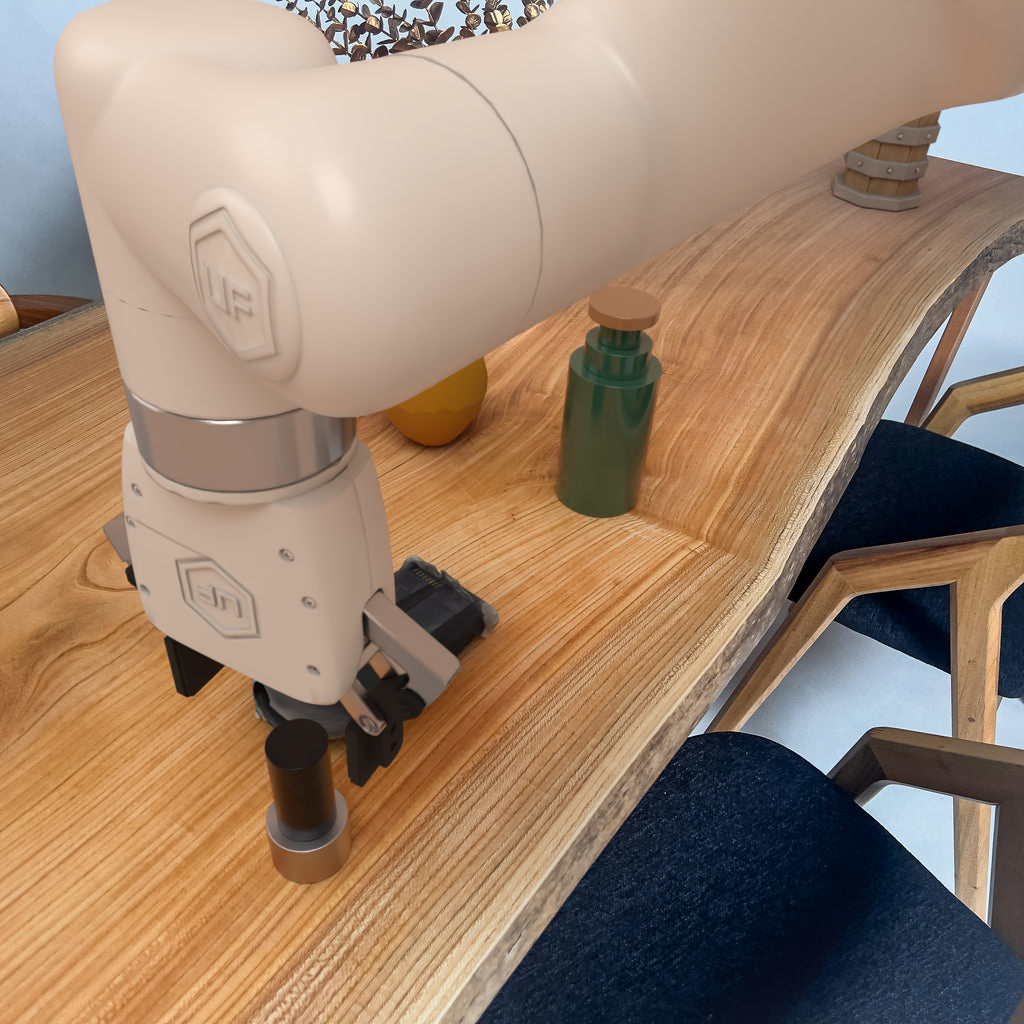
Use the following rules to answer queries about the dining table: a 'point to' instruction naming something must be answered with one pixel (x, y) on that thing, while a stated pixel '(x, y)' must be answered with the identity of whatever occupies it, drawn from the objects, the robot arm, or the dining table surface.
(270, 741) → the torch
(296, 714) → the electronic device
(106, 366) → the dining table surface
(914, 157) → the tankard
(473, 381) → the apple
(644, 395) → the bottle
